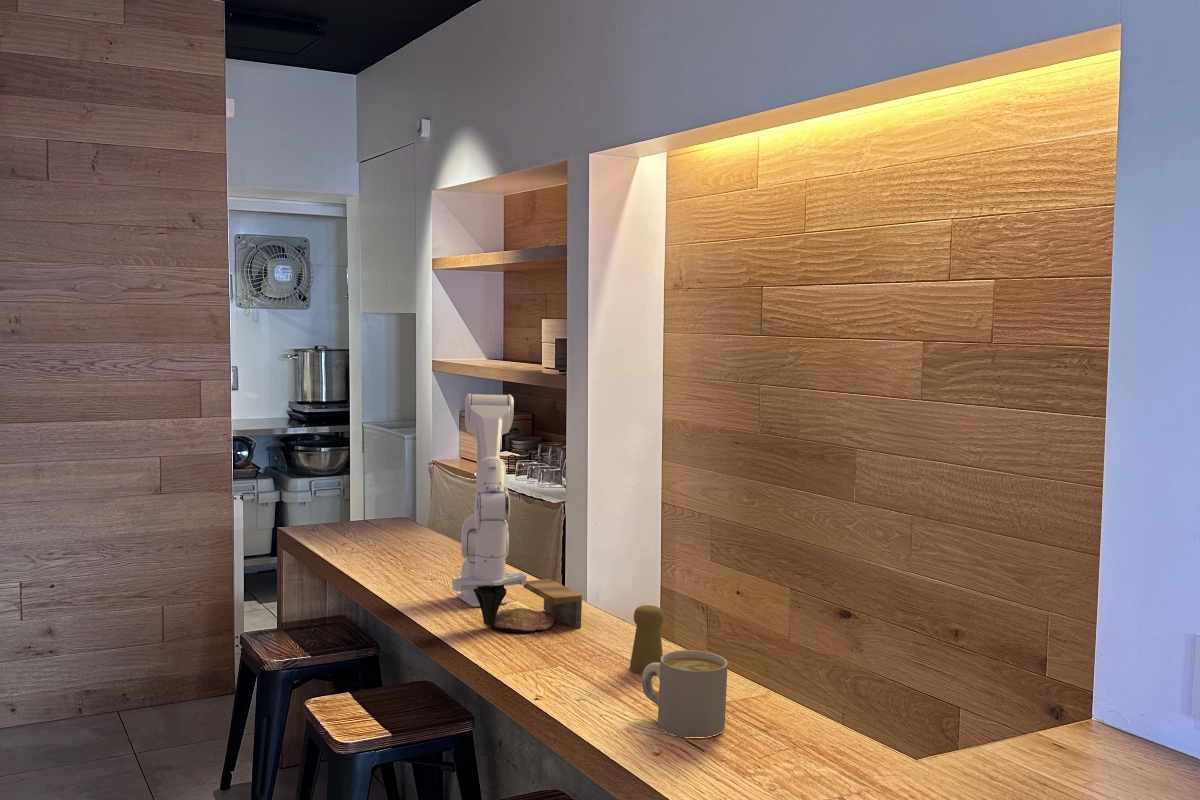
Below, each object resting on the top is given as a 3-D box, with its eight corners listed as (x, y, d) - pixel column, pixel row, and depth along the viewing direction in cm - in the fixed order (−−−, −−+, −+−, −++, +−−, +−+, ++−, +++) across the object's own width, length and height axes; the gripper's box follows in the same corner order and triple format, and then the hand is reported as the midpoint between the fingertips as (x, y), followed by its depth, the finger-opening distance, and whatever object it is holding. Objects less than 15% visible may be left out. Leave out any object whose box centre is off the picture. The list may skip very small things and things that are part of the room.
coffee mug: (738, 727, 156) (741, 661, 155) (695, 745, 148) (698, 676, 148) (670, 702, 165) (672, 640, 164) (627, 717, 158) (629, 653, 157)
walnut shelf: (522, 612, 213) (523, 581, 212) (548, 609, 216) (549, 578, 215) (553, 631, 201) (554, 598, 200) (580, 628, 204) (582, 595, 203)
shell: (548, 638, 198) (549, 619, 197) (482, 633, 199) (483, 615, 199) (556, 621, 209) (557, 603, 209) (494, 617, 210) (494, 599, 210)
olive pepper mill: (622, 667, 181) (624, 605, 180) (647, 661, 185) (650, 600, 184) (645, 677, 176) (648, 613, 176) (671, 670, 180) (674, 608, 179)
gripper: (462, 561, 193) (461, 634, 194) (534, 555, 200) (531, 625, 201) (449, 553, 199) (447, 624, 200) (518, 548, 206) (516, 616, 207)
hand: (488, 624), depth 201 cm, fingers closed
